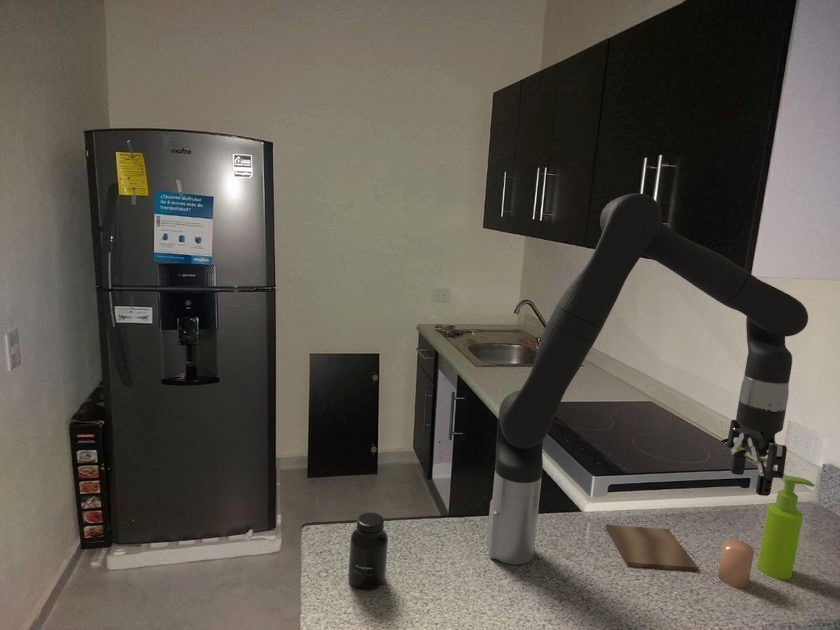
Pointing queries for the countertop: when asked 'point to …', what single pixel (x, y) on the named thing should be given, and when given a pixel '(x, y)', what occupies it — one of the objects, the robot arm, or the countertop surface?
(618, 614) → the countertop surface
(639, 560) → the mat
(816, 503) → the countertop surface
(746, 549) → the spice jar
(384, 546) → the supplement bottle
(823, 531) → the countertop surface
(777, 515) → the soap dispenser
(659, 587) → the countertop surface
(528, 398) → the robot arm
